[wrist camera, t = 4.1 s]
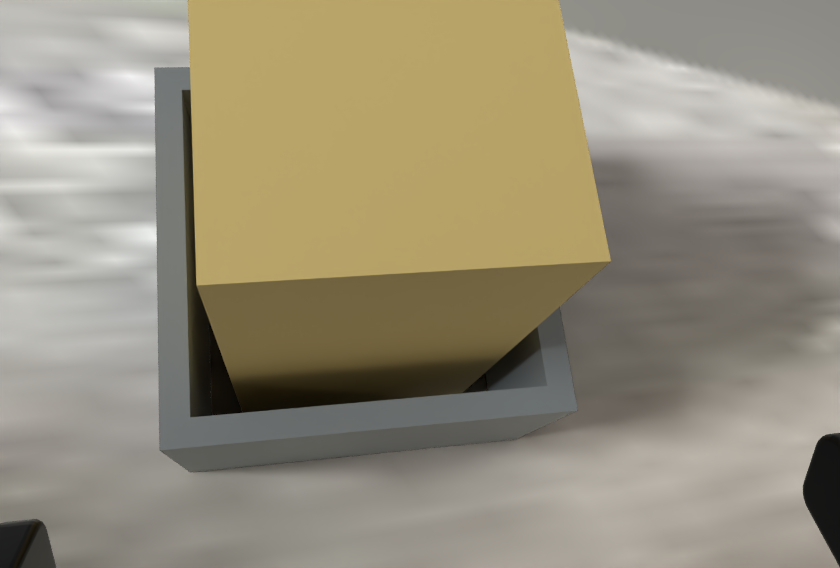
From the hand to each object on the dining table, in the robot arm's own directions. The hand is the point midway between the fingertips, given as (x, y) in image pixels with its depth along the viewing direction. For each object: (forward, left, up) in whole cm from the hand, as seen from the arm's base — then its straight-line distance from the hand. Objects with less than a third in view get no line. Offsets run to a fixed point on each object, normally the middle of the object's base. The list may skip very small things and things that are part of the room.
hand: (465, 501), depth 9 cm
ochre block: (+5, -4, -12) cm, 14 cm away
